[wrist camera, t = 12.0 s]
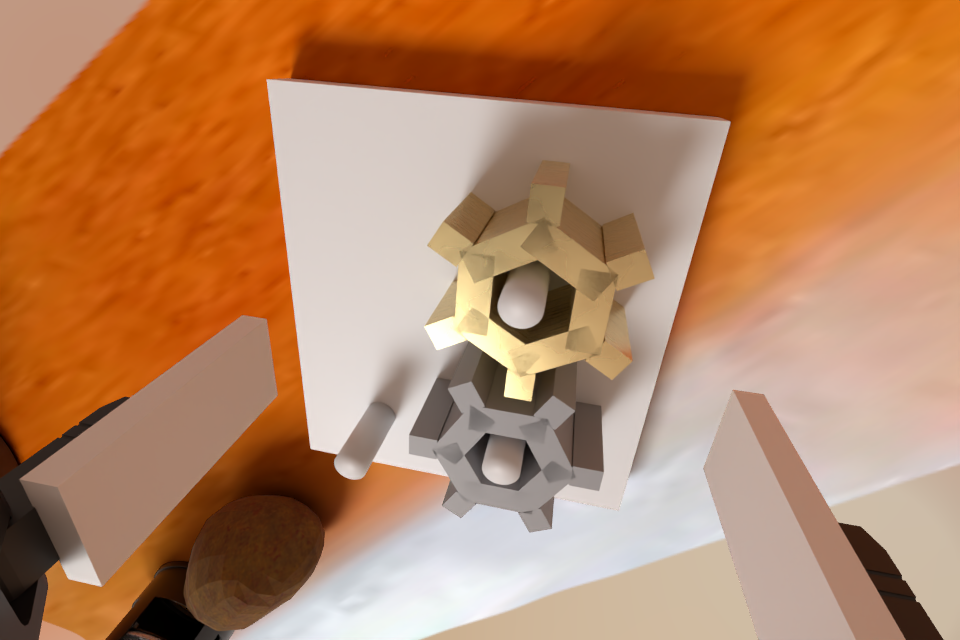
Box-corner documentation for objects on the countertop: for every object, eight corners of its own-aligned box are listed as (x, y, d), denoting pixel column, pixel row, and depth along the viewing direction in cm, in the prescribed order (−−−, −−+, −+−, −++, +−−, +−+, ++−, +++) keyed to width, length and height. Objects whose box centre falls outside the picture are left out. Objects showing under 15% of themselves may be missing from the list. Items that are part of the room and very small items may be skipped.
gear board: (324, 429, 34) (262, 515, 28) (290, 78, 24) (178, 82, 17) (617, 486, 32) (624, 595, 25) (719, 117, 21) (777, 139, 15)
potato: (195, 499, 41) (105, 598, 33) (290, 453, 36) (211, 556, 28) (264, 565, 43) (195, 671, 36) (362, 530, 38) (306, 644, 31)
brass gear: (492, 359, 27) (473, 416, 22) (419, 214, 24) (381, 248, 19) (665, 306, 23) (683, 361, 19) (605, 132, 21) (610, 149, 16)
